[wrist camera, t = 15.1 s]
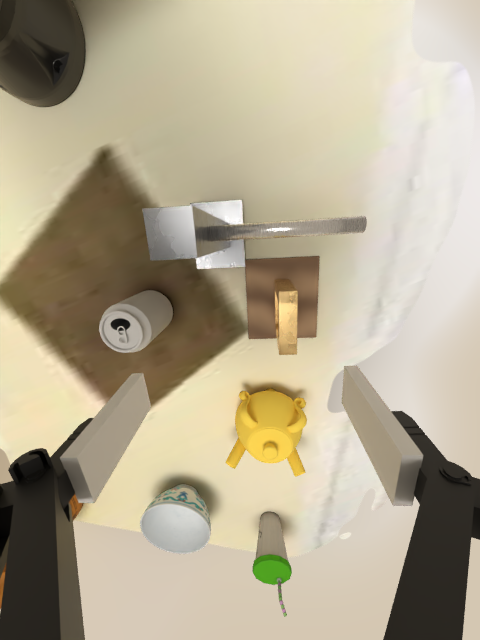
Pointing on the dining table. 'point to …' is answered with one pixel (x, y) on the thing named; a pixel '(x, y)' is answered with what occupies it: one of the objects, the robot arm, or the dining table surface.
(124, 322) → the can
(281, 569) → the cup
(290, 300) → the c link
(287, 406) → the teapot
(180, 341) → the dining table surface
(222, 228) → the stand
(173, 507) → the chinaware
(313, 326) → the walnut board
